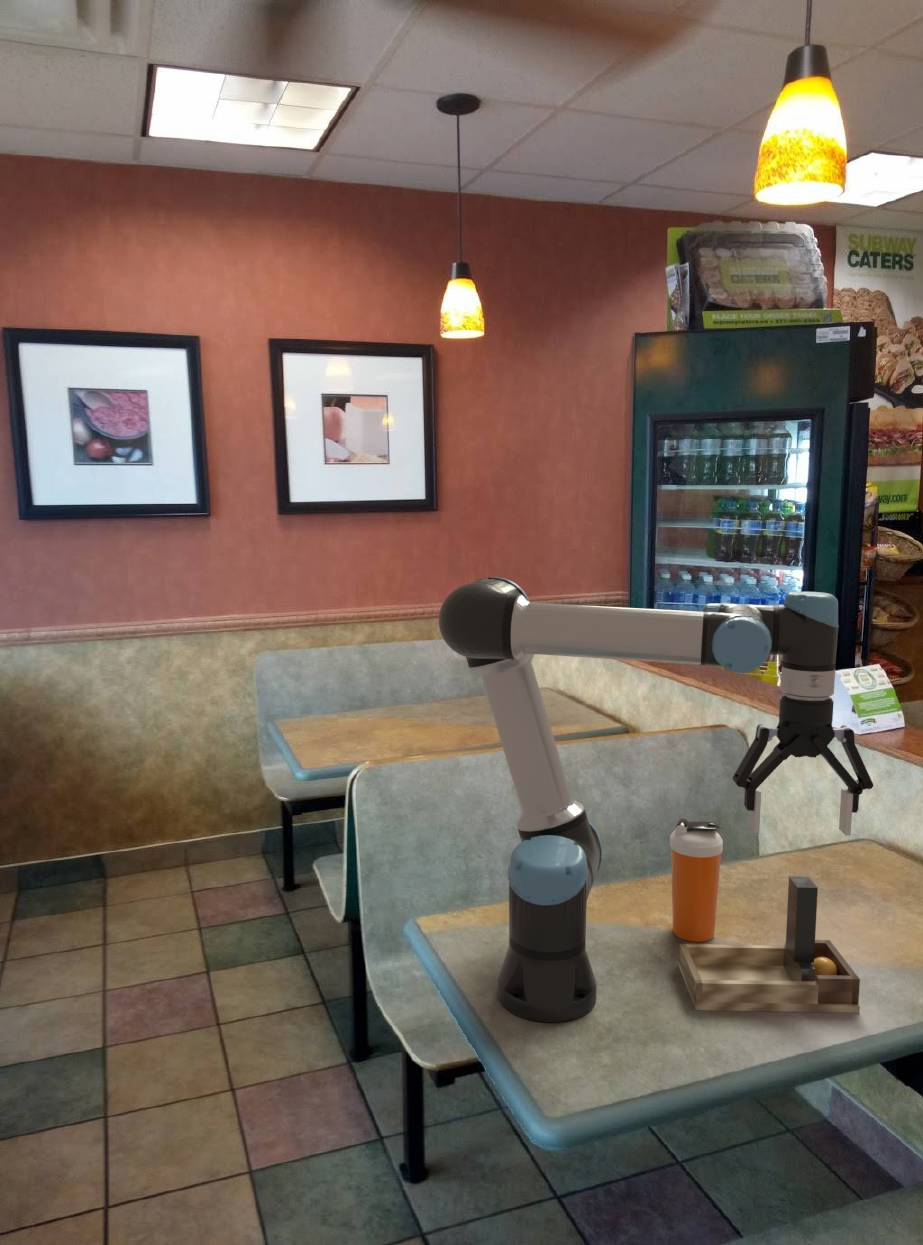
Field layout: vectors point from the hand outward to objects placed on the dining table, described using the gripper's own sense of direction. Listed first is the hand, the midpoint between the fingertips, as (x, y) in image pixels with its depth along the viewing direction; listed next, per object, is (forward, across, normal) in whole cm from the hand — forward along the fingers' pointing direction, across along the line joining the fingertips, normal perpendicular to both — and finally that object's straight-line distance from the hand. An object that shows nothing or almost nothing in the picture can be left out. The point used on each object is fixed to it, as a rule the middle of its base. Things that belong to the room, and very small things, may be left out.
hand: (799, 831), depth 137 cm
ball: (+22, +4, -1) cm, 22 cm away
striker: (+24, +1, -1) cm, 24 cm away
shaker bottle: (+25, -12, +17) cm, 33 cm away
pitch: (+25, -4, -1) cm, 26 cm away
